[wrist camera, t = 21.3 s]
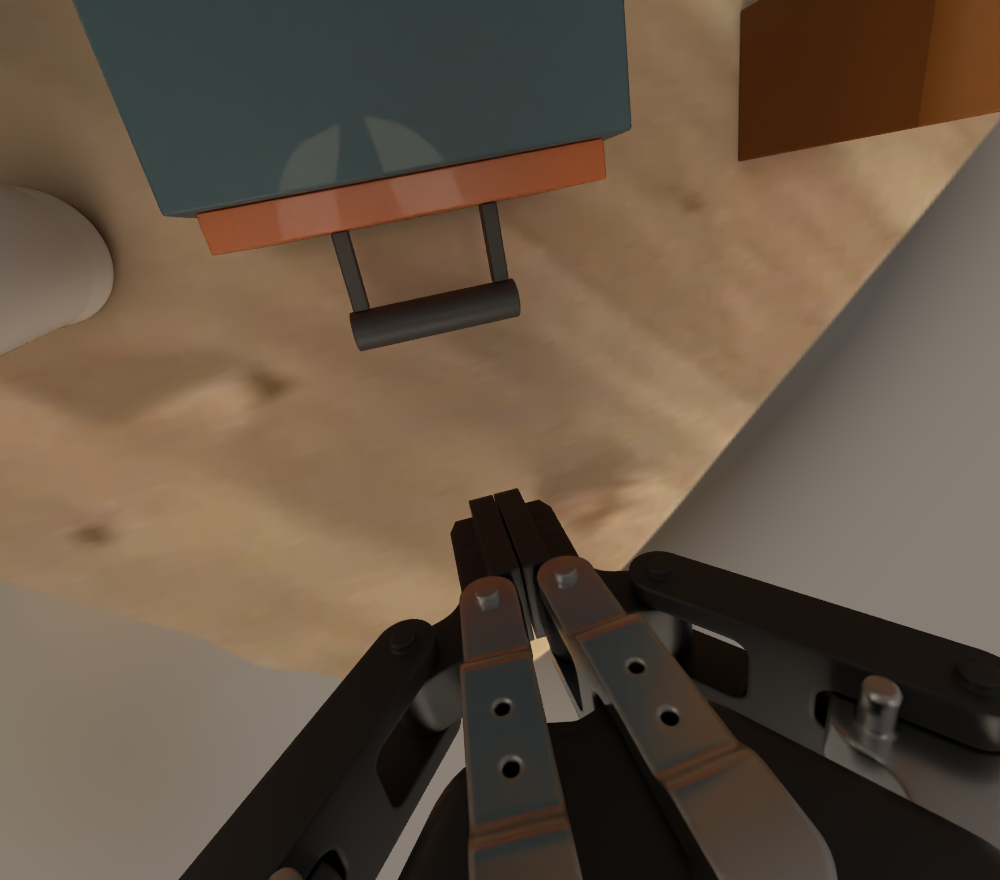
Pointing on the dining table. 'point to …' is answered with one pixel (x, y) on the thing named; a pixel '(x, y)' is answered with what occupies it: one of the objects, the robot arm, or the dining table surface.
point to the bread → (862, 69)
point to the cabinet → (350, 88)
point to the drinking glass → (47, 266)
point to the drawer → (406, 201)
